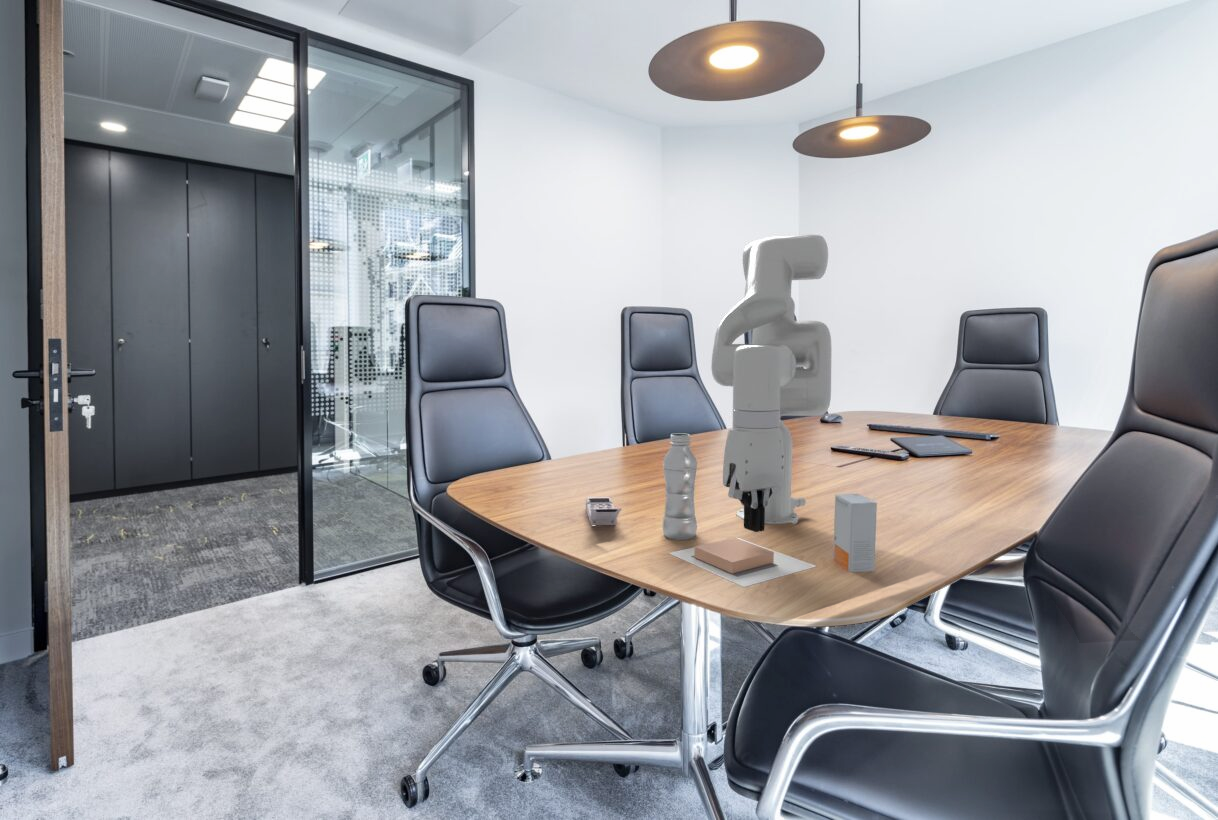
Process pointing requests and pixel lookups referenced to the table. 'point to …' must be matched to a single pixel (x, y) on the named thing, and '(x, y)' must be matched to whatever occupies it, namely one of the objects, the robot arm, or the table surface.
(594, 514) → the mobile phone
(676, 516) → the plastic bottle
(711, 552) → the tile
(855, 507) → the skincare box
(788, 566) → the mat
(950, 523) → the table surface
